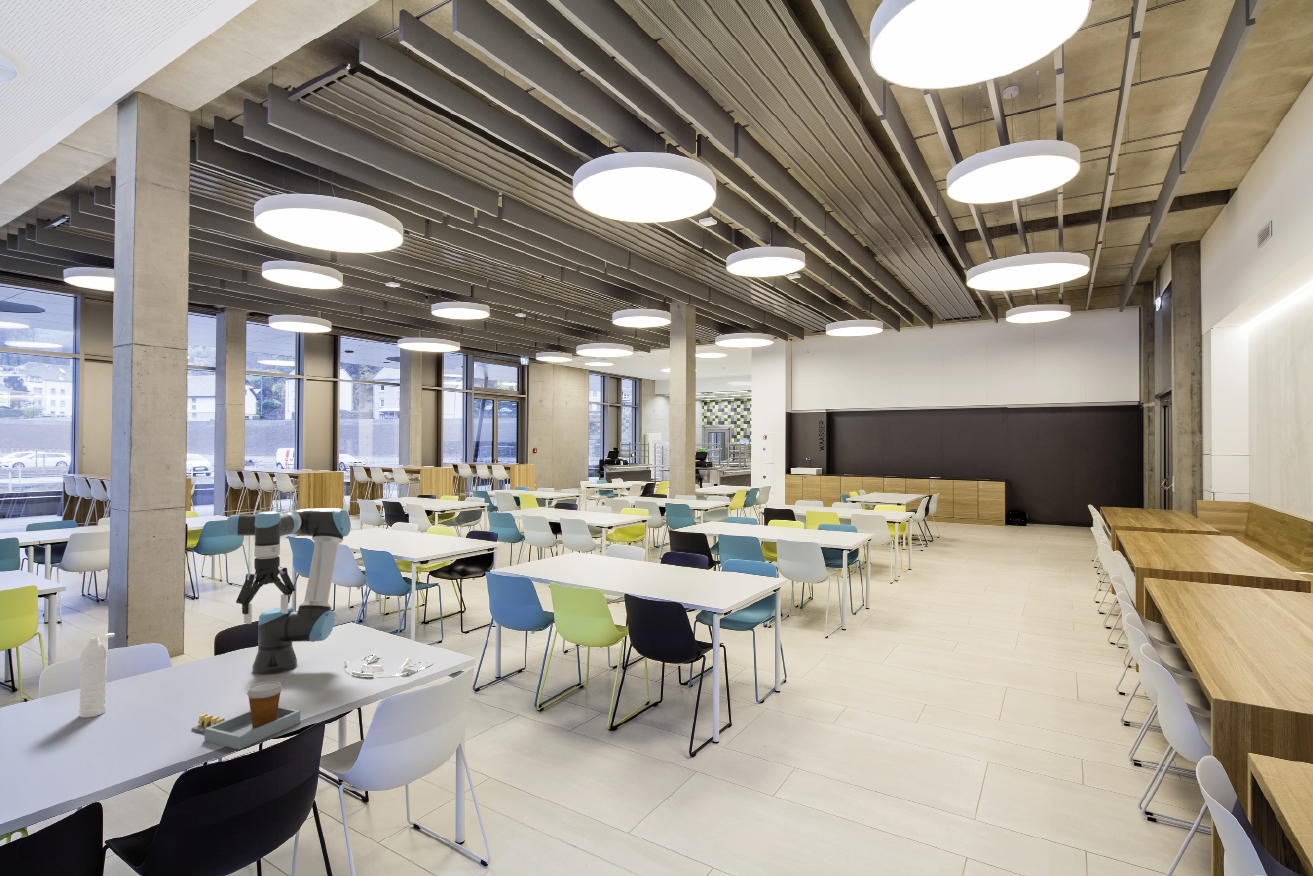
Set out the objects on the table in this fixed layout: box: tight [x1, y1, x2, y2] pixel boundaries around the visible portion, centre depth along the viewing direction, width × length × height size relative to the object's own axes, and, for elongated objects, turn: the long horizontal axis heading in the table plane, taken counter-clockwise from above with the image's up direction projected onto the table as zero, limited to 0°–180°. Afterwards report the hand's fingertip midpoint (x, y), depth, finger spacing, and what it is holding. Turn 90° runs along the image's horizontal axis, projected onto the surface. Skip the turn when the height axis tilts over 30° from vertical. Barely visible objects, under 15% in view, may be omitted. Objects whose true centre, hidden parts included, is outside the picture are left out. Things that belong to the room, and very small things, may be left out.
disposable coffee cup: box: [246, 680, 283, 728], centre depth 200 cm, size 10×10×12 cm
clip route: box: [191, 713, 226, 735], centre depth 198 cm, size 11×6×4 cm, turn 69°
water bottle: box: [79, 632, 116, 719], centre depth 210 cm, size 9×6×25 cm
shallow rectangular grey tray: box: [204, 705, 301, 750], centre depth 197 cm, size 15×20×4 cm
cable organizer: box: [343, 653, 425, 677], centre depth 255 cm, size 35×24×3 cm
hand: (266, 618), depth 221 cm, fingers open, 13 cm apart
